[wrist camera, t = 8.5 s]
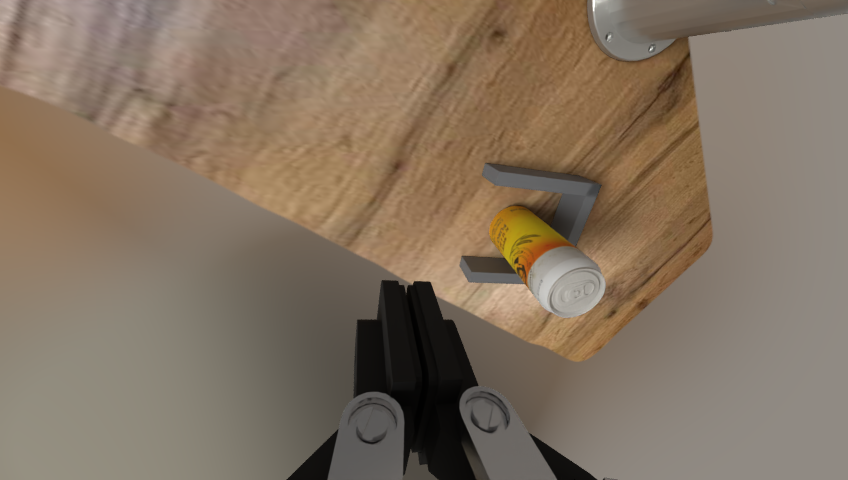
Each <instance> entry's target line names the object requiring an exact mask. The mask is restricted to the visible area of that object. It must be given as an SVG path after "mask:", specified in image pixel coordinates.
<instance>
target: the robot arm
mask: <svg viewBox="0 0 848 480" xmlns="http://www.w3.org/2000/svg"><path fill="white" fill-rule="evenodd" d="M587 11H588V21H589V25H590V30H591V33H592V35H593V37H594V40H595V42H596V43H597V45H598V46H599V47H600V49H601V50H602V51H603V52H604V53H606V54H607V55H608V56H609V57H611V58H614V59H616V60H620V61H639V60H642V59H646V58H650V57H652V56H654V55H656V54H658V53H660V52H661V51H662V50H664V49H665V48H667V47H668V46H669V45H670V44H672V43H673V42H674V41H675V40H676V39H677V38H682V37H689V36H696V35H703V34H710V33H716V32H724V31H725V32H726V31H731V30H738V29H744V28H752V27H758V26H765V25H772V24H779V23H786V22H793V21H800V20H807V19H814V18H821V17H827V16H834V15H841V14H848V0H588V1H587ZM410 449H411V450H412V453H413V452H418V456H419V464H420V465H422V464H428V470H429V472H430V473H431V474H433V475H434V476H435V477H436V478H437V480H597V479H596V478H594V477H593V476H592V475H591V474H590V473H588V472H587V471H585V470H584V469H582V468H581V467H579V466H578V465H576V464H575V463H573V462H572V461H570V460H569V459H567V458H566V457H564V456H563V455H561V454H560V453H558V452H557V451H555V450H554V449H552V448H551V447H549V446H548V445H547V444H545V443H544V442H542V441H541V440H539V439H538V438H536V437H535V436H533V435H532V434H530V433H529V432H527V430H526V428H525V427H524V425H523V423H522V422H521V420H520V418H519V417H518V415H517V413H516V412H515V410H514V408H513V407H512V405H511V404H510V403H509V401H508V400H507V399H506V398H505V397H504V396H503V395H502V394H500V393H499V392H497V391H495V390H493V389H491V388H488V387H484V386H478V383H477V381H476V378H475V375H474V373H473V370H472V367H471V365H470V362H469V359H468V357H467V354H466V352H465V349H464V347H463V344H462V341H461V338H460V336H459V333H458V331H457V328H456V325H455V323H454V322H453V320H443V317H442V314H441V311H440V308H439V305H438V302H437V299H436V296H435V293H434V290H433V287H432V285H431V282H423V281H414V283H413V285H408V287H407V293H406V292H405V287H404V285H399V283H398V281H389V280H382V282H381V289H380V297H379V305H378V314H377V320H357V329H356V343H355V363H354V399H353V400H351V401H350V403H349V404H348V405H347V406H346V408H345V409H344V412H343V415H342V417H341V421H340V426H339V429H338V430H337V431H336V432H335V433H334V434H333V435H332V436H331V437H330V438H329V439H328V440H327V441H326V442H325V443H324V444H323V445H322V446H321V447H320V448H319V449H318V450H316V452H314V454H312V456H310V457H309V458H308V459H307V460H306V461H305V462H304V463H303V464H302V465H301V466H300V467H299V468H298V469H297V470H296V471H295V472H294V473H293V474H292V475H291V476H290V477H289V478H288V479H287V480H403V476H404V474H405V471H406V467H407V462H408V458H409V453H410ZM603 480H616V479H610V478H604V479H603Z"/></svg>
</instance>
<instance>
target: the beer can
mask: <svg viewBox="0 0 848 480" xmlns="http://www.w3.org/2000/svg"><path fill="white" fill-rule="evenodd" d="M489 234H490V238H491V240H492V242H493V243H494V244H495V246H496V247H497V248H498V250H499V251H500V252H501V253H502V255H503V256H504V257H505V259H506V260H507V261H508V263H509V264H510V265H511V266H512V268H513V269H514V270H515V272H516V273H517V274H518V276H519V277H520V278H521V279H522V281H523V282H524V283H525V285H526V286H527V287H528V288H529V290H530V291H531V292H532V294H533V295H534V296H535V298H536V299H537V300H538V301H539V303H540V304H541V305H542V306H543V308H545V309H546V310H548V311H550V312H553V313H554V314H555V315H557V316H560V317H564V318H571V317H576V316H579V315H582V314H584V313H586V312H588V311H589V310H591V309H592V308H593V307H594V306H595V305H596V304H597V303H598V302H599V301H600V299H601V298H602V296H603V294H604V292H605V287H606V282H605V279H604V277H603V275H602V273H601V270H600V268H599V266H598V265H597V264H596V263H595V262H594V261H593V260H591V259H590V258H589V257H588V256H586V255H585V254H584V253H583V252H581V251H580V250H579V249H578V248H576V247H575V246H574V245H572V244H571V243H570V242H569V241H567V240H566V239H565V238H564V237H562V236H561V235H560V234H559V233H557V232H556V231H555V230H554V229H552V228H551V227H550V226H549V225H547V224H546V223H545V222H543V221H542V220H541V219H540V218H538V217H537V216H536V215H535V214H533V213H532V212H531V211H530V210H528V209H527V208H525V207H522V206H511V207H507V208H505V209H503V210H502V211H500V212H499V213H498V214H497V215H496V216H495V217H494V219H493V220H492V222H491V225H490V229H489Z"/></svg>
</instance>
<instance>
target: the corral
mask: <svg viewBox="0 0 848 480" xmlns="http://www.w3.org/2000/svg"><path fill="white" fill-rule="evenodd" d="M482 176H483V177H485V178H486V179H487V180H489V181H490V182H491V183H493V184H494V185H497V186H506V187H514V188H522V189H531V190H539V191H548V192H556V193H563V194H562V197H561V199H560V202H559V205H558V207H557V210H556V213H555V215H554V218H553V221H552V223H551V226H550V227H551V228H552V229H554V230H555V231H556V232H557V233H559V234H560V235H561V236H562V237H564V238H565V239H566V240H567V241H569V242H570V243H571V244H572V245H574V246H575V247H576V245H577V242H578V240H579V237H580V235H581V233H582V230H583V228H584V226H585V223H586V221H587V219H588V216H589V214H590V211H591V209H592V207H593V204H594V202H595V200H596V197H597V195H598V193H599V190H600V188H601V186H602V185H601V184H598V183H596V182H593V181H591V180H589V179H586V178H584V177H581V176H577V175H570V174H563V173H555V172H548V171H541V170H533V169H526V168H519V167H511V166H504V165H497V164H489V163H485V165H484V169H483V173H482ZM460 267H461V269H462V271H463V273H464V274H465V276H466V278H467V280H468V282H476V283H506V284H525V283H524V282H523V281H522V279H521V278H520V277H519V276H518V274H517V273H516V272H515V270H514V269H513V268H512V266H511V265H510V264H509V263H508V261H507V260H506V259H505V258H489V257H471V256H462V258H461V262H460Z"/></svg>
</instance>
